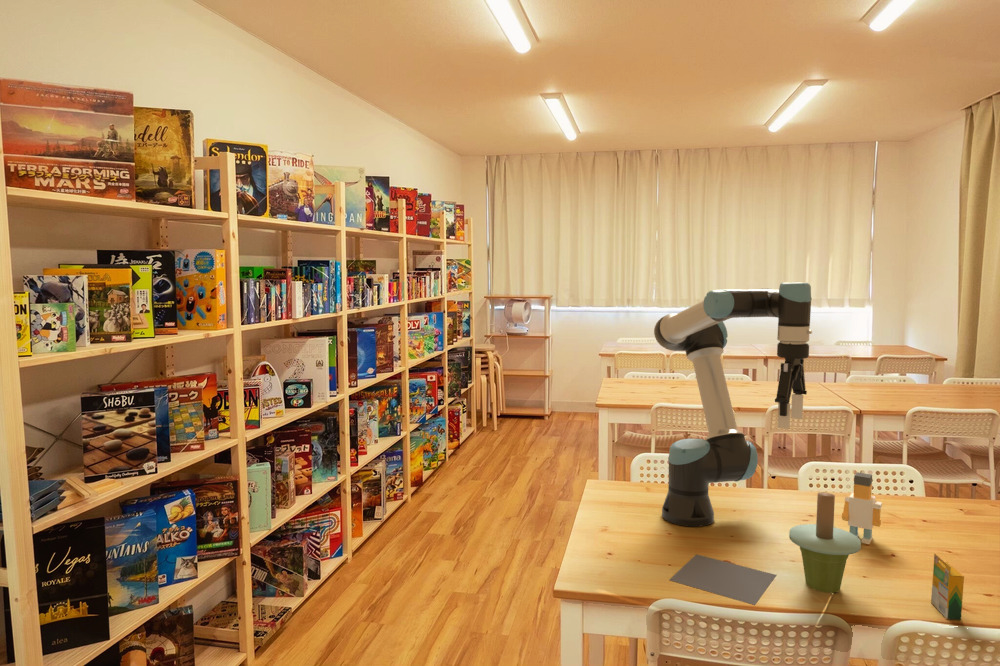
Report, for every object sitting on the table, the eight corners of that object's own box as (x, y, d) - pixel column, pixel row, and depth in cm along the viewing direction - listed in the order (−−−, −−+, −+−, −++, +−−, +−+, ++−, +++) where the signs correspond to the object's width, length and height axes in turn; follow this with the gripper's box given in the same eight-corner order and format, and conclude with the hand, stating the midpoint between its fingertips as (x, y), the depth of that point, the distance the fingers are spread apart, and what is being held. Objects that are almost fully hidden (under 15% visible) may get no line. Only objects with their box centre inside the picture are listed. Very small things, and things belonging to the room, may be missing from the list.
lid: (782, 544, 152) (784, 497, 151) (796, 524, 165) (798, 480, 164) (855, 560, 144) (857, 511, 143) (865, 538, 156) (867, 492, 155)
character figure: (884, 544, 179) (888, 479, 178) (845, 543, 180) (848, 479, 178) (870, 533, 187) (873, 471, 185) (832, 532, 188) (835, 470, 186)
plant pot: (786, 575, 161) (788, 531, 160) (836, 576, 161) (838, 531, 160) (807, 599, 150) (809, 551, 148) (860, 600, 149) (863, 552, 148)
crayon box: (962, 620, 140) (965, 568, 139) (946, 619, 141) (949, 567, 140) (945, 603, 147) (948, 553, 146) (930, 602, 148) (933, 552, 147)
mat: (668, 582, 158) (668, 580, 158) (696, 556, 172) (696, 554, 172) (754, 607, 146) (754, 604, 146) (776, 577, 160) (776, 574, 160)
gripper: (797, 347, 158) (793, 434, 160) (819, 339, 178) (816, 416, 180) (764, 345, 162) (761, 430, 164) (790, 337, 182) (787, 413, 184)
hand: (790, 423), depth 172 cm, fingers open, 13 cm apart
